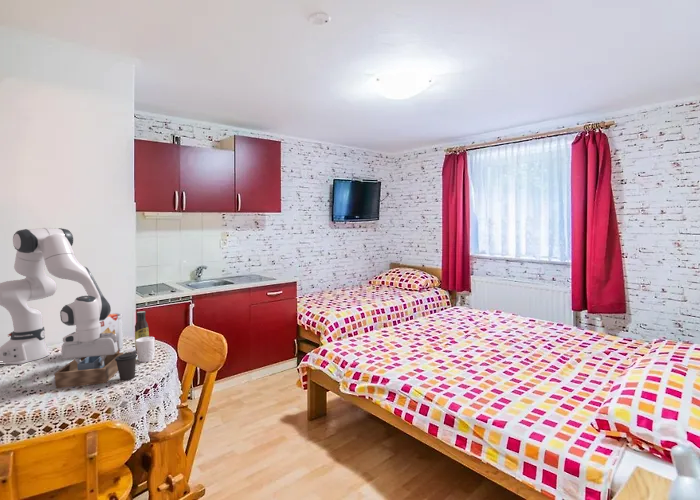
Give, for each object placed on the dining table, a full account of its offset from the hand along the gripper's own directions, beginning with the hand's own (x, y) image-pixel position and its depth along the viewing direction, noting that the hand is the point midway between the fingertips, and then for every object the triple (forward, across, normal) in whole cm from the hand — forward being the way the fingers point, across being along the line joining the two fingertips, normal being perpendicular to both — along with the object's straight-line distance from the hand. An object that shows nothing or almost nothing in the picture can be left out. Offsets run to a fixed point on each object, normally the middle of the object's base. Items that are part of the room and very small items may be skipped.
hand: (91, 366), depth 164 cm
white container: (+4, +8, -38) cm, 39 cm away
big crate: (+4, 0, 0) cm, 4 cm away
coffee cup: (+4, -16, +7) cm, 18 cm away
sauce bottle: (+4, -11, -30) cm, 32 cm away
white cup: (+4, -17, -15) cm, 23 cm away
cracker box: (+4, +3, -20) cm, 21 cm away
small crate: (+2, 0, 0) cm, 2 cm away
